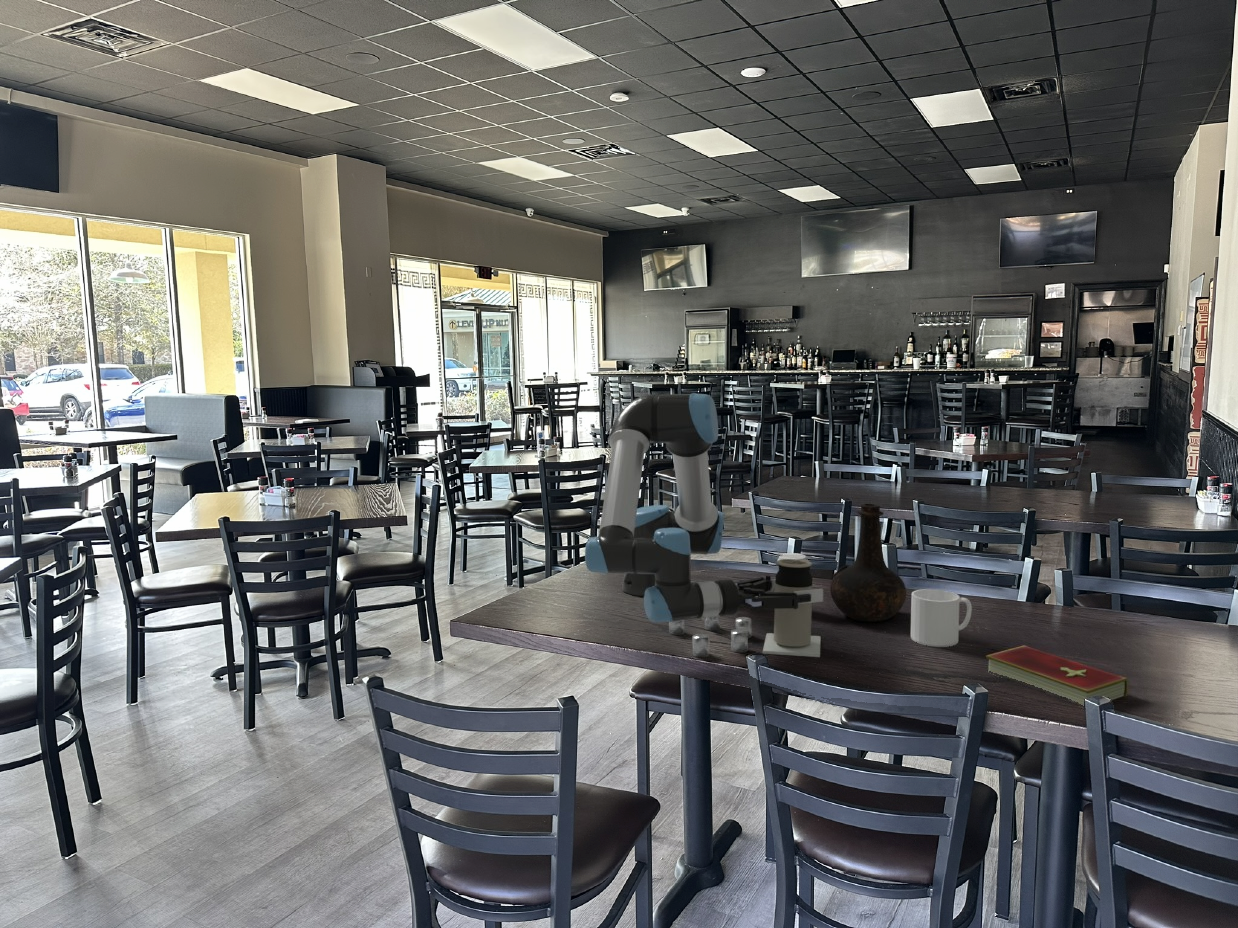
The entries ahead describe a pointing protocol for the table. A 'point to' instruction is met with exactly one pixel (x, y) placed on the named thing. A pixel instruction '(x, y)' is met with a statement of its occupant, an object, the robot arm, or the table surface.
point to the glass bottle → (868, 576)
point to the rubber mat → (807, 650)
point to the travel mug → (791, 622)
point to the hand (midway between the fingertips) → (810, 588)
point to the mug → (937, 617)
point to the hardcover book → (1057, 674)
